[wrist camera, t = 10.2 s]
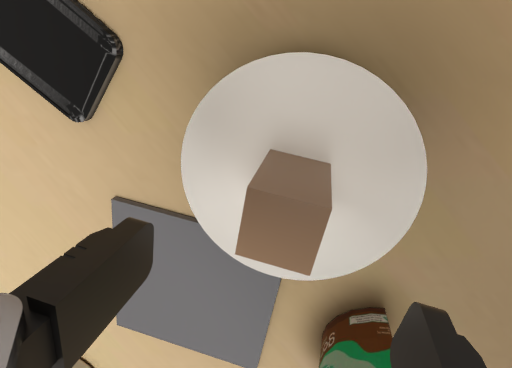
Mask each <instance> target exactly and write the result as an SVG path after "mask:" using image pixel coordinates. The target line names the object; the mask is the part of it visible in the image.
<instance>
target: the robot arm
mask: <svg viewBox="0 0 512 368" xmlns="http://www.w3.org/2000/svg"><path fill="white" fill-rule="evenodd" d="M153 246H154V226H153V224H152V223H149V222H145V221H142V220H139V219H135V218H132V217H128V218H126V219H124V220H123V221H122V222H120V223H119V224H118V225H117V226H115V227H114V228H113V229H111V228H105V229H103V230H100V231H98V232H95V233H93V234H90V235H89V236H87V237H86V238H85V239H83V240H82V241H81V242H79V243H78V244H76V247H72V248H71V249H70V250H68V251H67V252H66V253H64V255H63V256H60V257H59V258H57V259H56V260H55V261H53V262H52V263H50V264H49V265H48V266H46V267H45V268H44V269H42V270H41V271H39V272H38V273H37V274H35V275H34V276H33V277H31V278H30V279H29V280H27V281H26V282H24V283H23V284H22V285H20V286H19V287H18V288H16V289H15V290H13V291H12V292H10V293H9V294H7V293H0V368H72V367H73V366H74V365H75V364H76V362H77V361H78V360H79V359H80V358H81V356H82V355H83V354H84V353H85V352H86V350H87V349H88V348H89V347H90V346H91V345H92V343H93V342H94V341H95V340H96V339H97V337H98V336H99V335H100V334H101V333H102V331H103V330H104V329H105V328H106V327H107V325H108V324H109V323H110V322H111V321H112V320H113V318H114V317H115V316H116V315H117V314H118V312H119V311H120V310H121V309H122V308H123V306H124V305H125V304H126V303H127V302H128V300H129V299H130V298H131V297H132V296H133V295H134V293H135V292H136V291H137V290H138V289H139V287H140V286H141V285H142V284H143V283H144V281H145V280H146V279H147V277H148V275H149V273H150V271H151V268H152V264H153ZM390 362H391V368H487V367H486V365H485V363H484V361H483V359H482V357H481V356H480V355H479V354H478V352H477V351H476V350H475V349H474V348H473V346H472V345H471V344H470V343H469V342H468V341H467V339H466V338H465V337H464V336H461V335H457V333H456V331H455V328H454V326H453V324H452V322H451V319H450V317H449V315H448V314H447V312H446V311H444V310H441V309H438V308H434V307H431V306H428V305H424V304H421V303H418V302H414V303H412V304H411V306H410V307H409V309H408V311H407V313H406V315H405V316H404V318H403V320H402V322H401V324H400V326H399V328H398V329H397V331H396V333H395V335H394V337H393V339H392V342H391V347H390Z"/></svg>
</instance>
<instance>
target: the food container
mask: <svg viewBox="0 0 512 368" xmlns="http://www.w3.org/2000/svg"><path fill="white" fill-rule="evenodd" d="M392 339H393V338H392V334H391V330H390V327H389V323H388V319H387V316H386V312H385V308H372V307H369V308H362V309H355V310H351V311H348V312H346V313H343V314H341V315H339V316H337V317H336V318H334V319H333V320H332V321H331V322H330V323H329V324H328V325H327V326H326V328H325V330H324V332H323V336H322V343H321V353H320V362H319V368H391V362H390V347H391V342H392Z"/></svg>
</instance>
